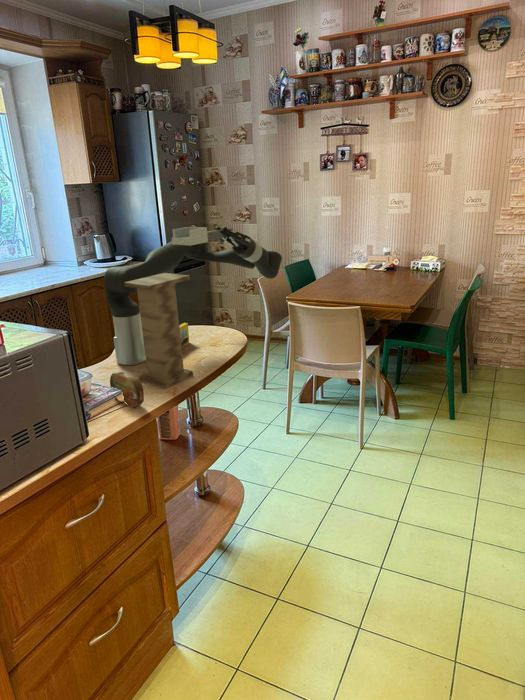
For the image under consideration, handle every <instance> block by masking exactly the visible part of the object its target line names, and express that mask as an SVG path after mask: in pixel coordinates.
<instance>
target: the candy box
mask: <svg viewBox="0 0 525 700" xmlns="http://www.w3.org/2000/svg"><path fill="white" fill-rule="evenodd" d="M179 328H180V338H181V348H182V349H183V348H184V347H185V346H187V345H188V344H190V336H189V323H188V322H183V323H181V324H179ZM186 344H187V345H186ZM183 346H184V347H183Z"/></svg>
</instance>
